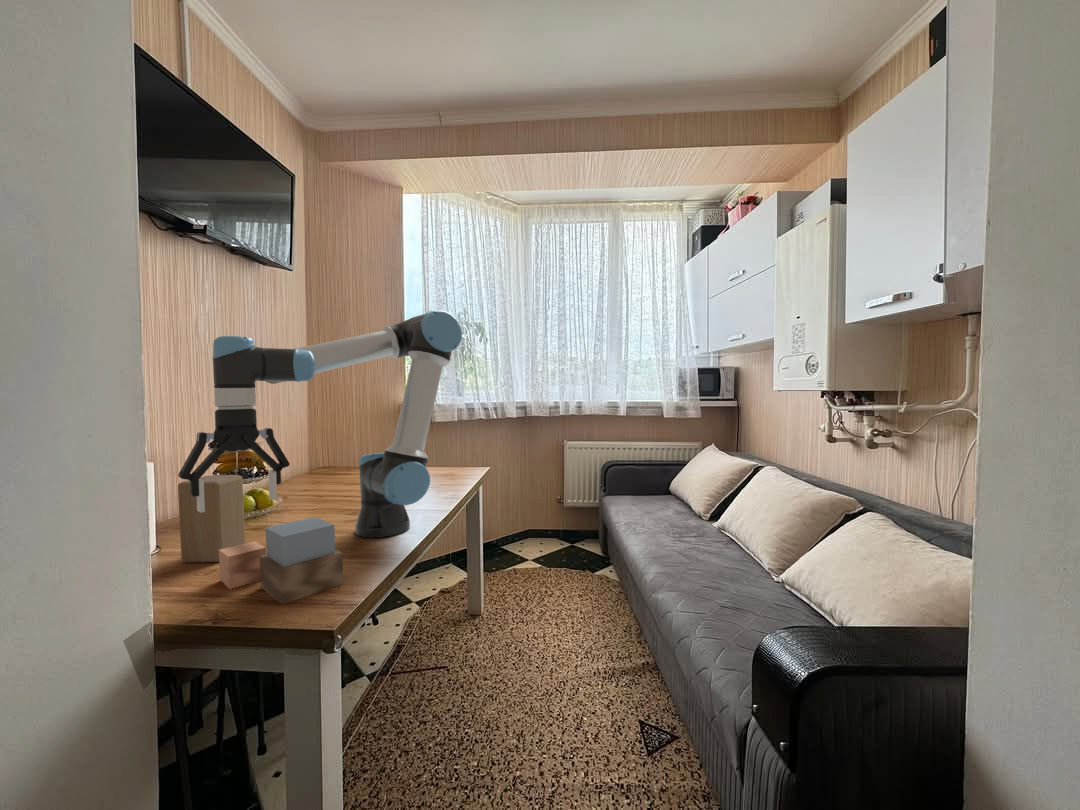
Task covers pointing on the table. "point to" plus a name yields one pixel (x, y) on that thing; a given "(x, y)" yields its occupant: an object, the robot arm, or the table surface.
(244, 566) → the cube
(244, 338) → the robot arm
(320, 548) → the tower top
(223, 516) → the block
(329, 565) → the tower base
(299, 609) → the table surface
